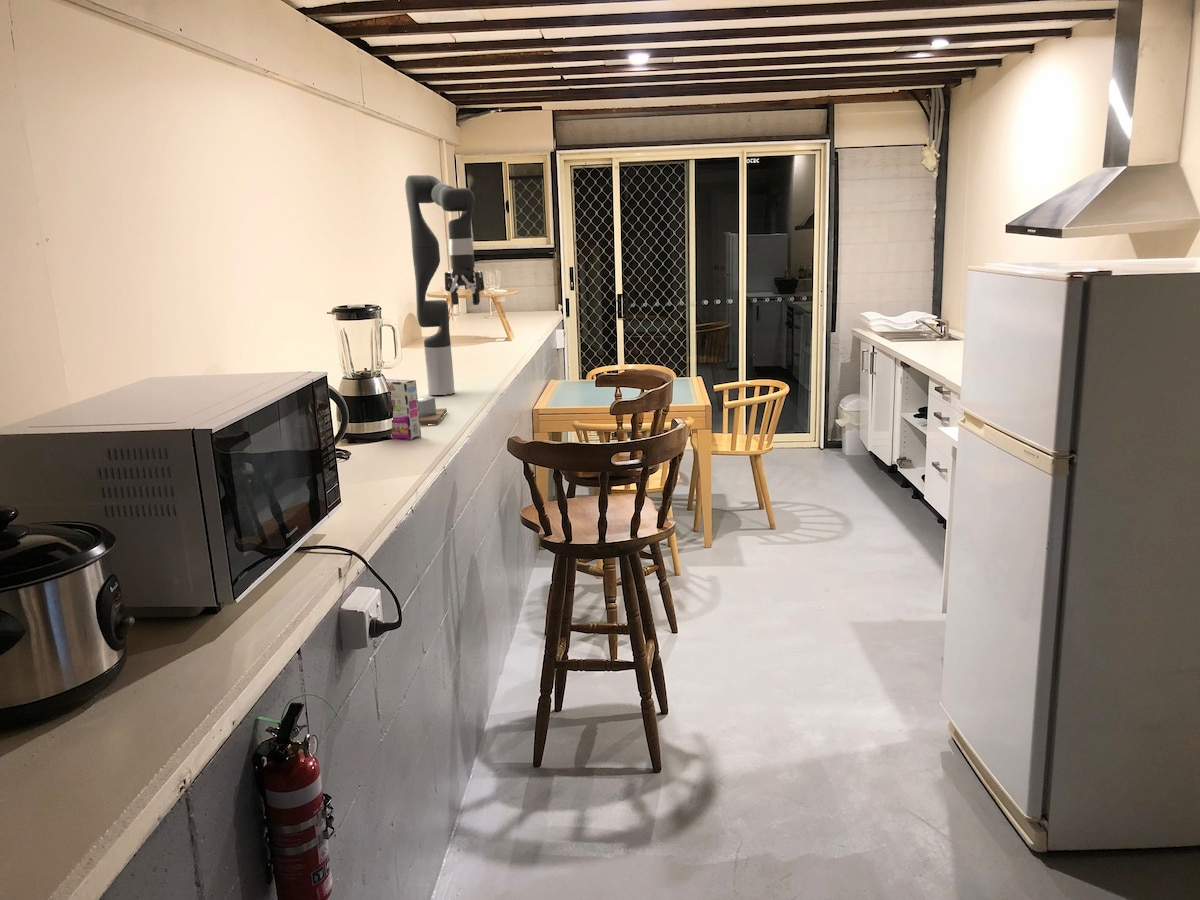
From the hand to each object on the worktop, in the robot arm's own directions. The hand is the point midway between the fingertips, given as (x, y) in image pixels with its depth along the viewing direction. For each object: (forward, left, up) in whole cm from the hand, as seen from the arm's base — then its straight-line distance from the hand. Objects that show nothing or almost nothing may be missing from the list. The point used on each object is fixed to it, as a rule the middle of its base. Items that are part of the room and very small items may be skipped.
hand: (465, 304), depth 290 cm
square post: (+13, -20, -32) cm, 40 cm away
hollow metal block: (+13, -20, -32) cm, 40 cm away
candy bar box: (+34, -31, -33) cm, 57 cm away
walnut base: (+13, -20, -33) cm, 41 cm away
